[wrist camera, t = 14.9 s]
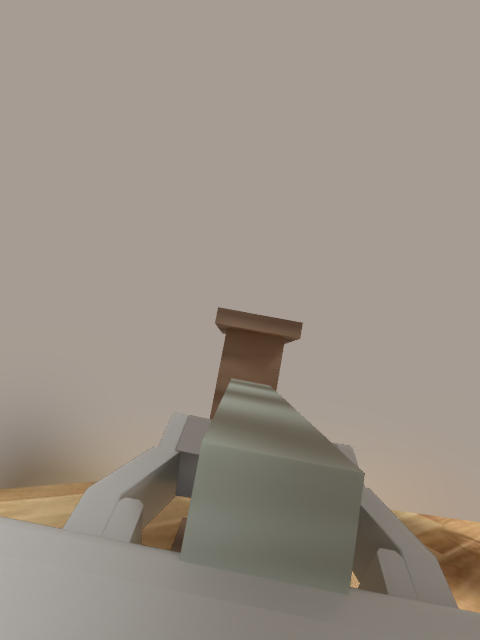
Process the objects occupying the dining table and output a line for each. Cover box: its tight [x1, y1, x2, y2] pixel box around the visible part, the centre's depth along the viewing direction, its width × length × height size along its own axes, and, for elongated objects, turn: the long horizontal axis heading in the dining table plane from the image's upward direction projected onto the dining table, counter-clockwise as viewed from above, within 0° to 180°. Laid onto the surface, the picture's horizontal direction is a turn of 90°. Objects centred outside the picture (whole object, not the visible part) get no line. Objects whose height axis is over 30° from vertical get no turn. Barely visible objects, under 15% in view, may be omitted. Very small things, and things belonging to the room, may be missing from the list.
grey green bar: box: [179, 378, 365, 595], centre depth 16 cm, size 20×3×3 cm, turn 0°
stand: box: [171, 308, 302, 553], centre depth 34 cm, size 12×9×26 cm
